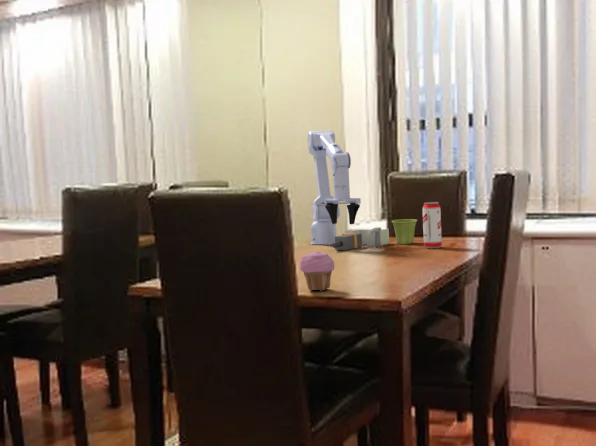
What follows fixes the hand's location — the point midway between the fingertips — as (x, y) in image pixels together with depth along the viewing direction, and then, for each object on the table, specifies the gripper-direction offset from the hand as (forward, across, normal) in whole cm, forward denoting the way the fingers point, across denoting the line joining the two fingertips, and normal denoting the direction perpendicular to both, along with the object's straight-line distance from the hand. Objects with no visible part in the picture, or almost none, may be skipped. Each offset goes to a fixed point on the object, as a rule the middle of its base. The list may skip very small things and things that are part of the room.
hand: (343, 223), depth 269 cm
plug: (+9, 0, +1) cm, 9 cm away
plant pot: (+10, +13, +22) cm, 27 cm away
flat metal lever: (+3, +10, +5) cm, 11 cm away
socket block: (+9, +1, +15) cm, 18 cm away
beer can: (+10, +29, +13) cm, 33 cm away
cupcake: (+10, +39, -71) cm, 82 cm away
